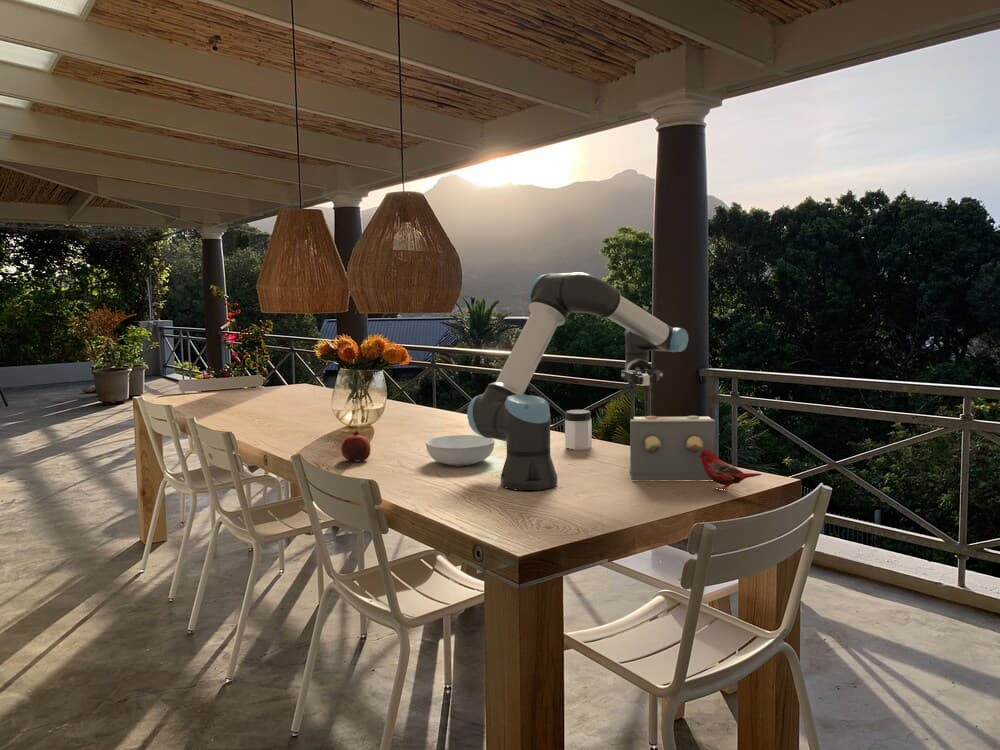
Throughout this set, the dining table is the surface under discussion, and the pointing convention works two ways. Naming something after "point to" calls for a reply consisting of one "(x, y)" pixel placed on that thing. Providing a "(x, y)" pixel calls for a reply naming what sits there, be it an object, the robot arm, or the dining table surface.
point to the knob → (694, 443)
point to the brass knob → (652, 443)
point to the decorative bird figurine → (722, 470)
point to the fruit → (356, 447)
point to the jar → (578, 430)
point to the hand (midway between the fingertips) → (646, 380)
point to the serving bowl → (460, 449)
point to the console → (669, 447)
